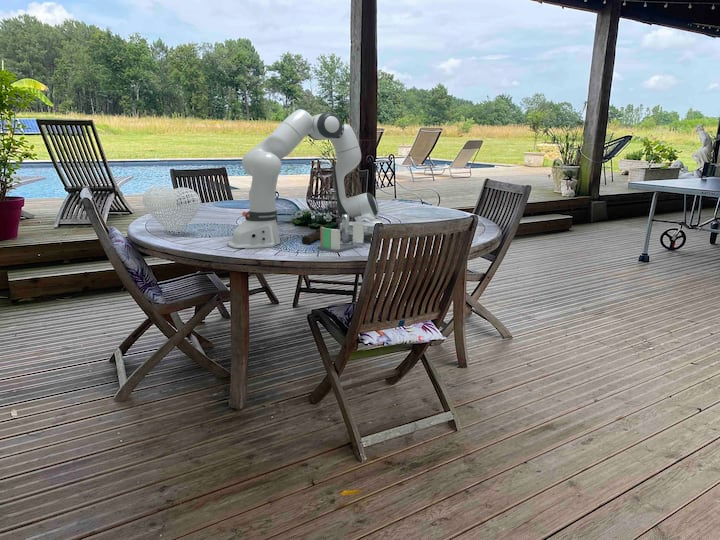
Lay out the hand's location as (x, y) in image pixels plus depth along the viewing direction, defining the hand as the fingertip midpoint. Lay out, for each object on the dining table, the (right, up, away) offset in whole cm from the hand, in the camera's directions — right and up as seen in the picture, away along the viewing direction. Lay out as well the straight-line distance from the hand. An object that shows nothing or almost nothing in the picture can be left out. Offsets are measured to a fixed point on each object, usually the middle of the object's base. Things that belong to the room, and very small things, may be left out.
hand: (359, 230), depth 216 cm
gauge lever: (-4, -6, -7) cm, 10 cm away
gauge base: (-9, -8, -4) cm, 13 cm away
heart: (-87, 0, +20) cm, 89 cm away
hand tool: (-21, -4, +11) cm, 24 cm away
